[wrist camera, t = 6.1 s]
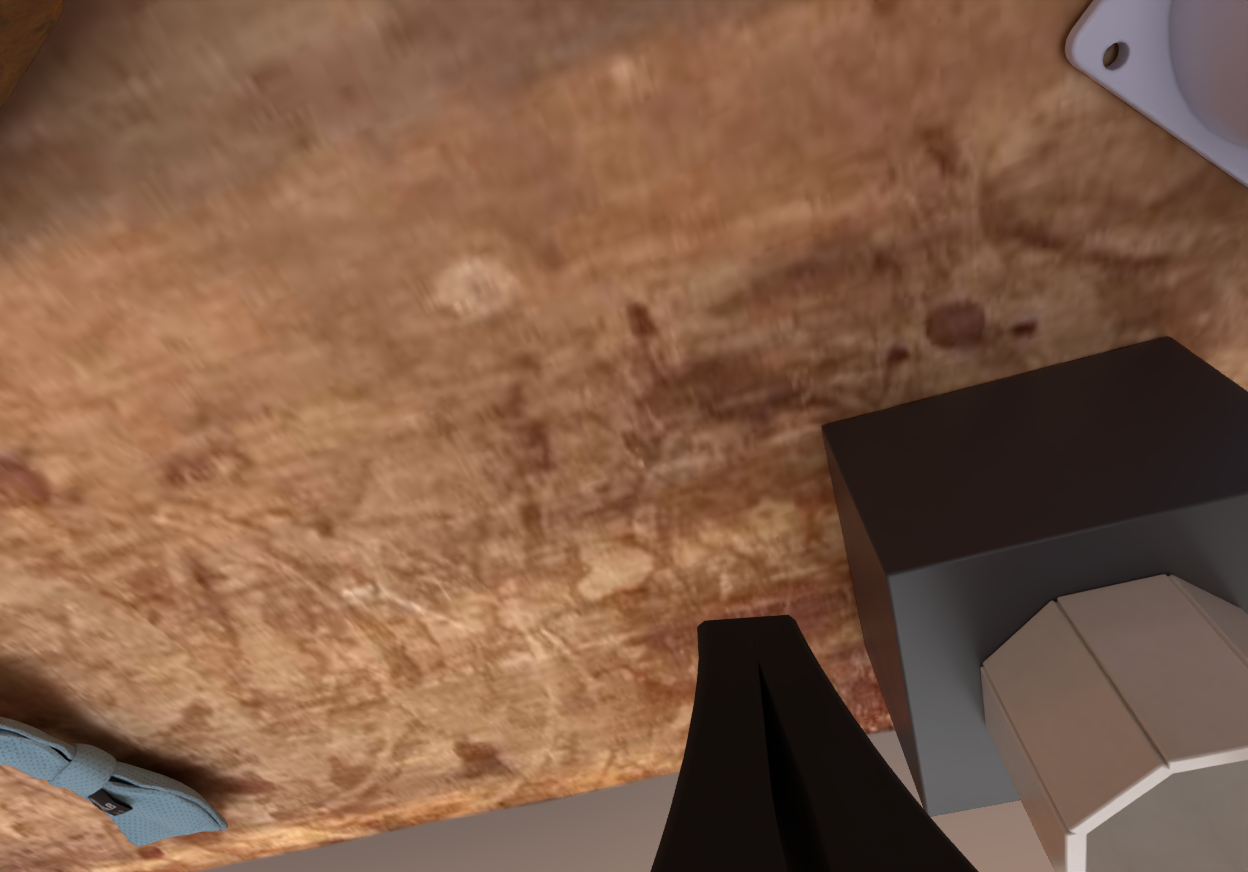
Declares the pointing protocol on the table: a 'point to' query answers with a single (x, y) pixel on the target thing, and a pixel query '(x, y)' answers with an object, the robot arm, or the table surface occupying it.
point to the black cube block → (1028, 527)
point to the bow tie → (110, 785)
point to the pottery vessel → (23, 37)
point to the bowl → (1128, 727)
